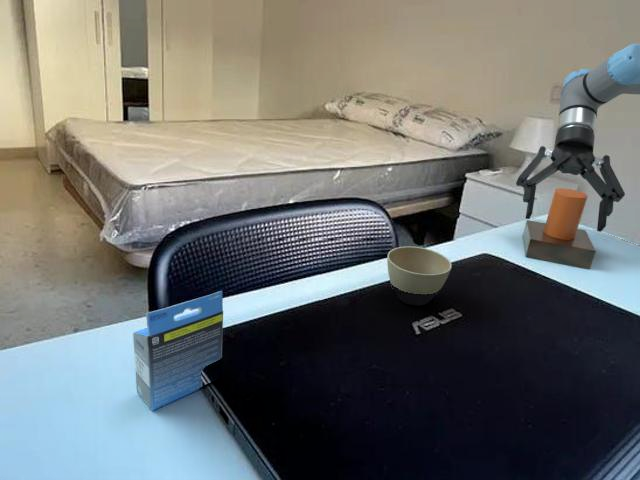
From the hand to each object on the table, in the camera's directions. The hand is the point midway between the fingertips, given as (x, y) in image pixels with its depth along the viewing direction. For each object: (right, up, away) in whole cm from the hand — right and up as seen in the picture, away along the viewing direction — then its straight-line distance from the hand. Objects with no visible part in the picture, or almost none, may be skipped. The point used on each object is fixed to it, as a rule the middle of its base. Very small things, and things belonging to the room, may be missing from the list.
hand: (564, 222), depth 100 cm
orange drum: (0, -2, +3) cm, 4 cm away
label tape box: (-65, -21, -43) cm, 81 cm away
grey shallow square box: (0, -6, +5) cm, 8 cm away
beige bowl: (-34, -13, -19) cm, 41 cm away
